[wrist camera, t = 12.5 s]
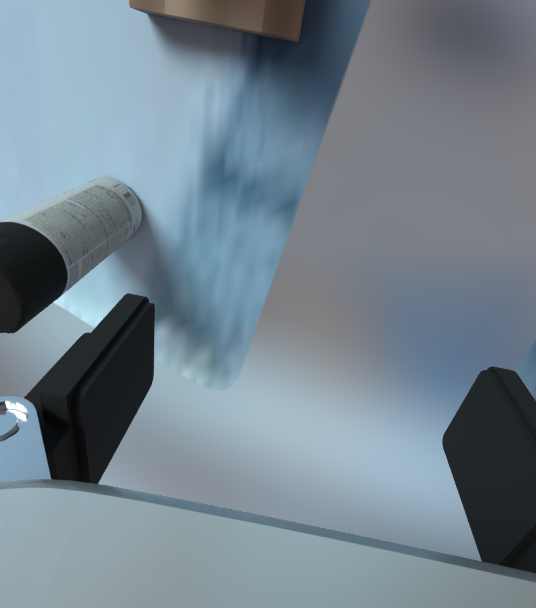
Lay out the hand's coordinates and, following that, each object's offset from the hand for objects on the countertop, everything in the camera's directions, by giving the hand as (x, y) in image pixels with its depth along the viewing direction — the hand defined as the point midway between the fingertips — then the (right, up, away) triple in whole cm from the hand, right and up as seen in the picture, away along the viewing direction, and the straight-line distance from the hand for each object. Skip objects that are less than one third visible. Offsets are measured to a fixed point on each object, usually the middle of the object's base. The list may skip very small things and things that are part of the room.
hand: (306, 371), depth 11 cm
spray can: (-17, +12, +31) cm, 37 cm away
